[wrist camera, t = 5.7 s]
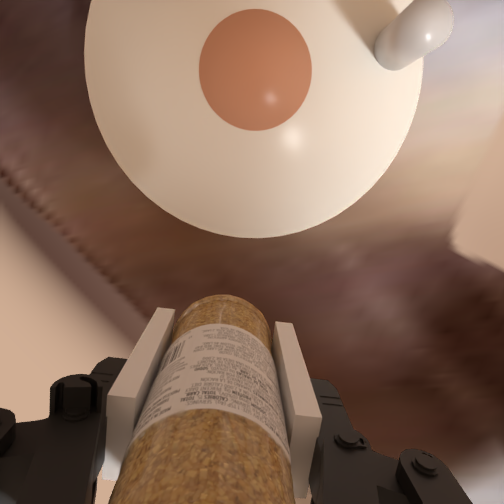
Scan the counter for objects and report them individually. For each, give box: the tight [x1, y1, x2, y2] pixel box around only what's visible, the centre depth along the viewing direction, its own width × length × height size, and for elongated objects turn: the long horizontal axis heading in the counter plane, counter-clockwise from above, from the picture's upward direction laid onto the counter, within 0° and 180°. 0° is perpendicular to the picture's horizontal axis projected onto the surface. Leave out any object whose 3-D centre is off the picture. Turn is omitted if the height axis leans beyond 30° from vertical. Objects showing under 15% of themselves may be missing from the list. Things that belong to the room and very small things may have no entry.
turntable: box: [84, 0, 454, 238], centre depth 26 cm, size 24×24×7 cm
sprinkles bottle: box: [108, 294, 295, 504], centre depth 11 cm, size 5×5×14 cm
